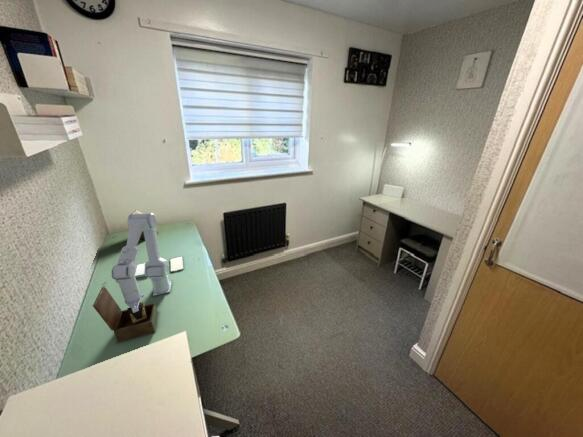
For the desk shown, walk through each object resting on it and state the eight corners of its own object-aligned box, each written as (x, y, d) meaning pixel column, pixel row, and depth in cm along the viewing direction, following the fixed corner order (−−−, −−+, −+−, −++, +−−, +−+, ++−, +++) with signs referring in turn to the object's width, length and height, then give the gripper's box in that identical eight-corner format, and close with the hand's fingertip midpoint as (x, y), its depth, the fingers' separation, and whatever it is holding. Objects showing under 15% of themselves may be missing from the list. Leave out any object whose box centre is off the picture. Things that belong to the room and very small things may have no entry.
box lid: (104, 285, 97) (102, 286, 96) (94, 305, 87) (92, 305, 87) (121, 309, 103) (119, 310, 103) (114, 330, 93) (111, 331, 93)
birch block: (145, 310, 106) (143, 302, 104) (146, 317, 102) (143, 309, 100) (132, 315, 103) (129, 306, 101) (133, 323, 99) (129, 314, 97)
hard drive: (149, 273, 135) (152, 261, 146) (132, 276, 132) (137, 264, 143) (149, 275, 136) (153, 263, 146) (133, 278, 133) (137, 266, 144)
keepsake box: (158, 313, 110) (154, 302, 108) (154, 332, 100) (151, 321, 98) (124, 321, 106) (120, 311, 103) (118, 342, 96) (113, 331, 93)
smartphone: (182, 256, 153) (183, 268, 141) (182, 256, 153) (183, 269, 141) (170, 258, 150) (170, 271, 138) (170, 259, 150) (170, 272, 138)
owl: (147, 240, 173) (140, 215, 165) (132, 239, 175) (124, 214, 166) (158, 232, 184) (152, 209, 176) (143, 231, 186) (137, 208, 178)
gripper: (143, 295, 93) (151, 320, 99) (139, 276, 104) (147, 300, 109) (122, 303, 89) (132, 328, 95) (120, 282, 100) (129, 307, 106)
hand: (138, 314), depth 102 cm, fingers closed on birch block, 5 cm apart
